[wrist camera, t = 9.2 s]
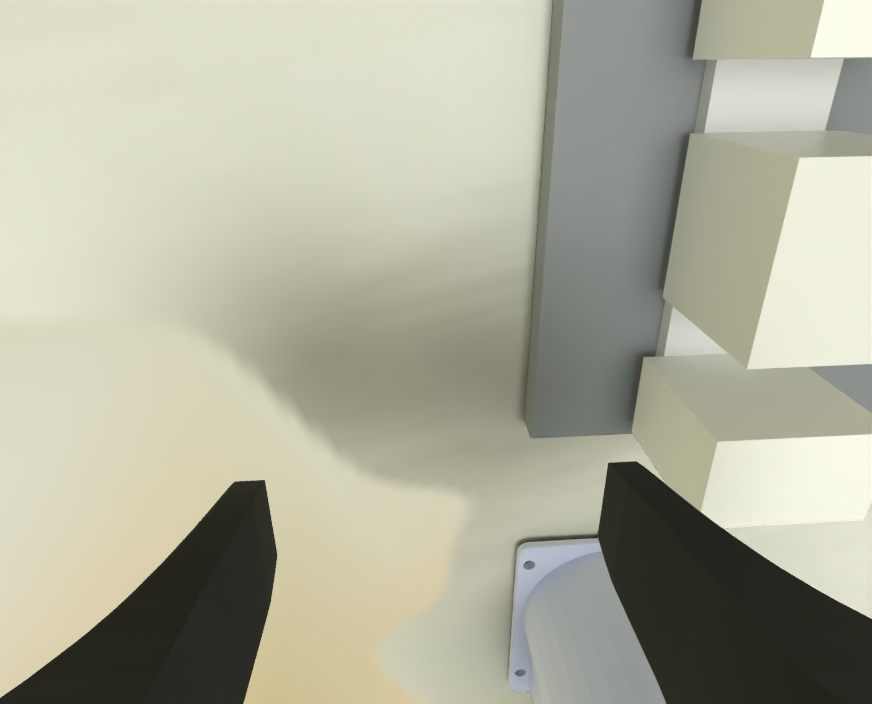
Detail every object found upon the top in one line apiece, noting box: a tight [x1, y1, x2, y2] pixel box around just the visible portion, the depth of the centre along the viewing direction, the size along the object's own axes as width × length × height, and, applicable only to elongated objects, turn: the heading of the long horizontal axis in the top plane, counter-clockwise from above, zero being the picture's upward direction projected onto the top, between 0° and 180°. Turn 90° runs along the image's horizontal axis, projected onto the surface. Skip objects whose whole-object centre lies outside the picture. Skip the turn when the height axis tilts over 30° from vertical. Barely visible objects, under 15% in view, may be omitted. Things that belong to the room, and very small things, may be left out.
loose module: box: [663, 130, 872, 369], centre depth 16 cm, size 5×4×5 cm
